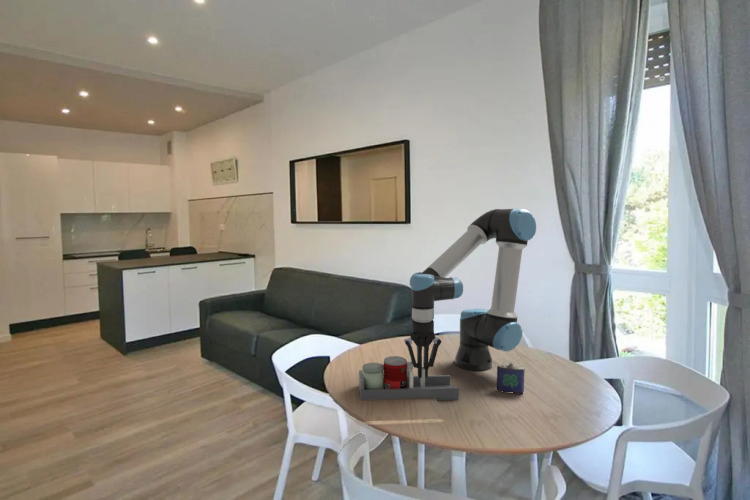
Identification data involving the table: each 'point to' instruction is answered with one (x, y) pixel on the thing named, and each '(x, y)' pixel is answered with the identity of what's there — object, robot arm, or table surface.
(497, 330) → the robot arm
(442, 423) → the table surface
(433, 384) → the lane
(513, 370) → the flask
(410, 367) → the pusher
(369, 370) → the green jar
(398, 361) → the canned food
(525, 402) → the table surface
